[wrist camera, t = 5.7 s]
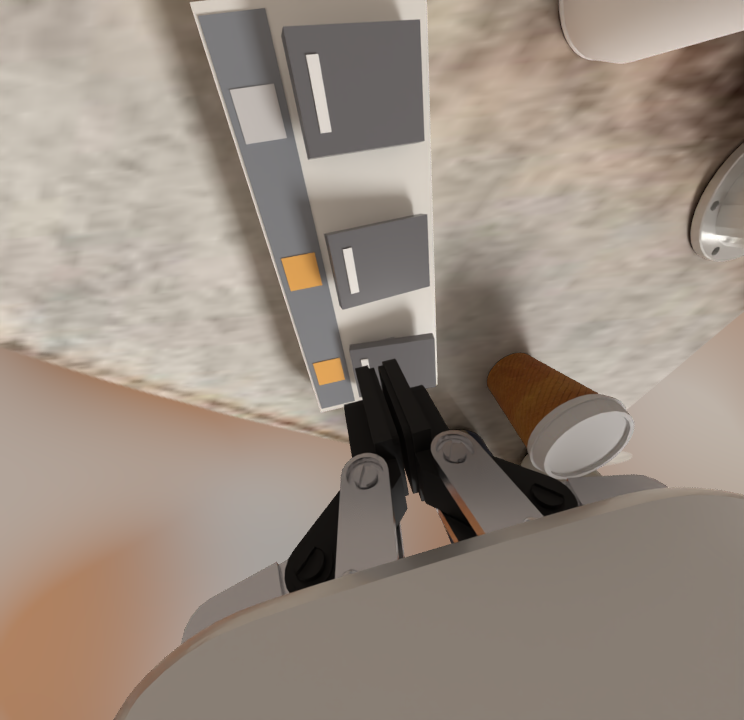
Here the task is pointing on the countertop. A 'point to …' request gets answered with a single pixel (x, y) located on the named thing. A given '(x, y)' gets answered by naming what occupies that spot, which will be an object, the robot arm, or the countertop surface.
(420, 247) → the rocker middle
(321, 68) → the plate
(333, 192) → the switch unit
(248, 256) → the countertop surface
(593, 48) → the white bottle
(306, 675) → the robot arm
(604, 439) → the disposable coffee cup
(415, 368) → the rocker
